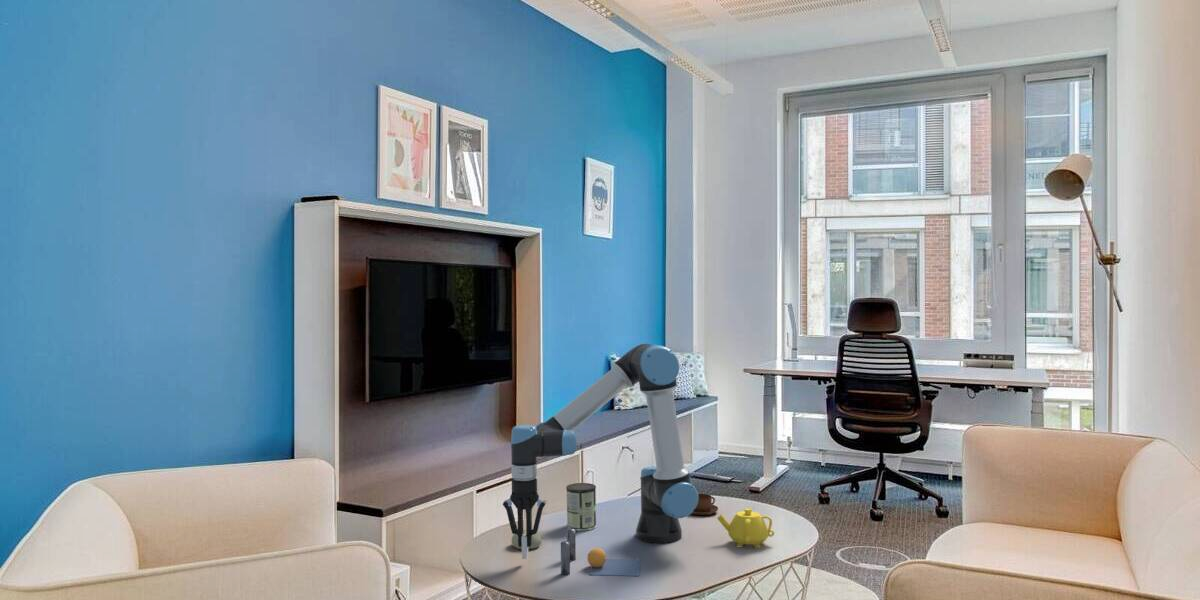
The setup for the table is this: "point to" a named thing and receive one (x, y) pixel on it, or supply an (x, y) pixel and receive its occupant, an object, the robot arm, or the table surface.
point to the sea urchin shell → (535, 540)
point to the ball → (596, 557)
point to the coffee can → (581, 506)
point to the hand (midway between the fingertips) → (525, 557)
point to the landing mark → (618, 568)
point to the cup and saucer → (705, 505)
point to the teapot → (748, 527)
